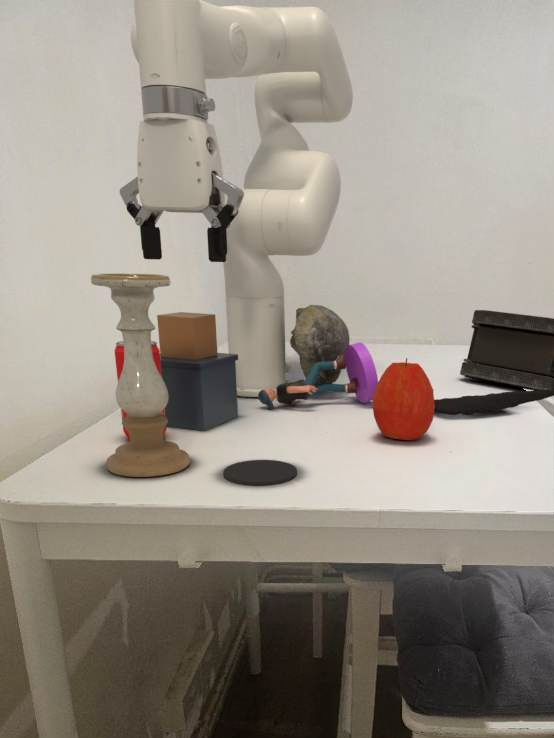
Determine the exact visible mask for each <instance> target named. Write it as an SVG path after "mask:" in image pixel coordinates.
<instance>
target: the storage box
mask: <svg viewBox="0 0 554 738" xmlns="http://www.w3.org/2000/svg"><path fill="white" fill-rule="evenodd" d="M217 354H218V355H216V356H211V357H207V358H203V359H199V360H187V359H176V358H164V357H161V355H160V362H161V373H162V378H163V380H164V382H165V384H166V387H167V389H168V393H169V400H168V403H167V405H166V407H165V417H166V418H167V419H168V423H167V424H166V427H170V428H179V429H187V430H195V431H204V432H205V431H207V430H209V429H212V428H214V427H217V426H219V425H222V424H224V423H227V422H230V421H232V420H234V419H236V418H238V417H239V410H238V409H239V407H238V396H237V385H236V364H235V361H236V360H238V354H229V353H225V352H217Z"/></svg>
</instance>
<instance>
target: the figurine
mask: <svg viewBox="0 0 554 738" xmlns="http://www.w3.org/2000/svg"><path fill="white" fill-rule="evenodd" d="M334 368H335V369H336V370H340V369H341V370H346V373H347V378H348V380H349V383H332V384H324V385H319V386H314V383H315V381H316V379H317V377H318V374H319V371H320V370H330V369H334ZM378 382H379V379H378V372H377V369H376V365H375V362H374V360H373V356H372V354H371V353H370V351H369V349H368V347H367V346H366V345H365V344H364V343H363V342H361V341H360V342H355V343H351V344H349V345H348V346H347V347H346V350H345V357H344V354H343V352H341V353H339V355H338V359H336V360H333V361H328V362H318V363H316V364H314V366H313V367H312V369H311V371H310V372H309V374H308V375H307V377H305V379H299V380H295V381H291V383H284V384H280V385H278V386H277V389H276V390H277V394H275V391H274V390H272V389H268V390H267V389H265V390H261V391H260V392H259V394H258V397H257V399H258V401H259V402H260V404H262V405H266V406H267V407H268V408H269V409H270V410H273V409H274V403H273V402H274V401H275V399H276V401H277V402H278V403H279V404H283V405H288V406H290V405H293V404H294V403H295V402H296V401H297V400H302V401H306V400H308V399H310V398H313V397H316V396H319V395H323V394H325V393H329V392H331V393H347V394H354V395H355V396H356V398H357V400H359V401H360V402H361V403H364V404H365V403H367V402H371V401H373V394H374V391H375V388H376V386H377V384H378Z"/></svg>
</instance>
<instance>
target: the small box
mask: <svg viewBox="0 0 554 738" xmlns="http://www.w3.org/2000/svg"><path fill="white" fill-rule="evenodd" d="M156 319H157V327H158V328H157V330H158V331H157V332H158V342H159V343H158V344H159V350H160V355H161V357H164V358H176V359H187V360H199V359H203V358H207V357H211V356H216V355H218V354H217V353H218V337H217V323H216V314H214V313H200V312H199V313H198V312H186V311H185V312H184V311H179V312H171V313H163V314H157V315H156Z"/></svg>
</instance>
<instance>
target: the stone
mask: <svg viewBox="0 0 554 738" xmlns="http://www.w3.org/2000/svg"><path fill="white" fill-rule="evenodd" d="M290 334H291V336H290V340H289V344H290V347H291V348H292V350H294V352H295V353H297V355H298V356H299V365H300V369H301V371H302V373H303V376H304V377H305V378H306V377H307V375H308V374H309V372H310V371H311V369H312V367H313V366H314V364H316V363H318V362H328V361H333V360H336V359H338V355H339V353H341V352H343V354H344V357H345V350H346V347H347V346H348V345H350V332H349V328H348V326H347V325H346V323H345V322H344V320H343V319H342V317H340V316H339V315H338V314H337V313H336V312H335V311H333V310H332V309H330V308H328V307H326V306H323V305H321V304H320V305H319V304H309V305H308V306H306V307H298V308H297V309H296V310H295V326H294V328H293V329H292V330H291V331H290ZM341 372H342V369H340V370H336V369H335V368H334V369H330V370H320V371H319V374H318V377H317V379H316V381H315V383H314V386H319V385H324V384H335V383H336V381H337V380H338V379H339V377H340V375H341Z"/></svg>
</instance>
